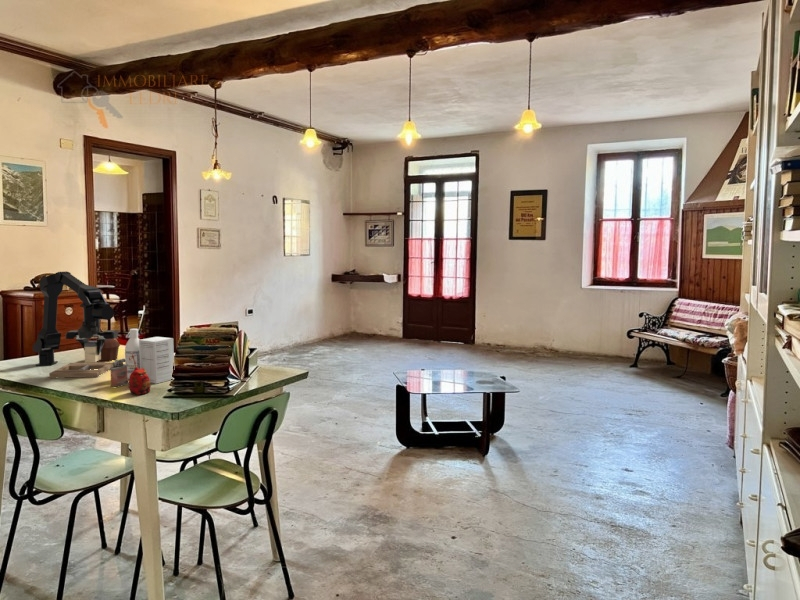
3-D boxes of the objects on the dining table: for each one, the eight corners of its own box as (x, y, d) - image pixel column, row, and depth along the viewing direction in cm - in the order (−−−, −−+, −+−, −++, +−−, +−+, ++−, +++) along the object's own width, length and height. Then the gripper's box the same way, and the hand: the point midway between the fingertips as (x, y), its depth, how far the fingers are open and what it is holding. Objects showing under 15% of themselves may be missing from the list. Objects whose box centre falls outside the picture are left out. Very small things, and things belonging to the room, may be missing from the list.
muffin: (88, 362, 247) (87, 341, 246) (96, 357, 258) (95, 336, 257) (117, 361, 250) (116, 340, 249) (123, 357, 261) (122, 336, 260)
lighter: (116, 388, 206) (115, 362, 205) (108, 387, 207) (107, 361, 206) (130, 382, 214) (129, 357, 213) (123, 382, 214) (122, 357, 213)
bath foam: (144, 378, 221) (143, 329, 219) (125, 380, 218) (124, 330, 216) (144, 374, 227) (143, 327, 225) (126, 376, 224) (124, 328, 222)
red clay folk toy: (141, 396, 196) (140, 355, 194) (124, 395, 197) (122, 354, 195) (154, 390, 203) (153, 351, 202) (137, 389, 204) (136, 350, 203)
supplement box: (175, 379, 221) (174, 338, 219) (156, 384, 213) (155, 341, 211) (158, 376, 225) (157, 336, 223) (139, 381, 217) (138, 339, 215)
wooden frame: (70, 367, 238) (70, 362, 237) (114, 366, 240) (114, 362, 240) (49, 378, 219) (49, 373, 219) (97, 377, 222) (97, 372, 221)
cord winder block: (90, 359, 232) (90, 340, 231) (101, 359, 233) (100, 340, 232) (85, 362, 226) (84, 343, 226) (95, 362, 227) (94, 343, 226)
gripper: (58, 320, 219) (60, 359, 220) (108, 320, 221) (109, 358, 223) (70, 317, 229) (72, 353, 231) (118, 317, 232) (119, 353, 234)
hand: (92, 354), depth 229 cm, fingers closed on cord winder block, 4 cm apart
